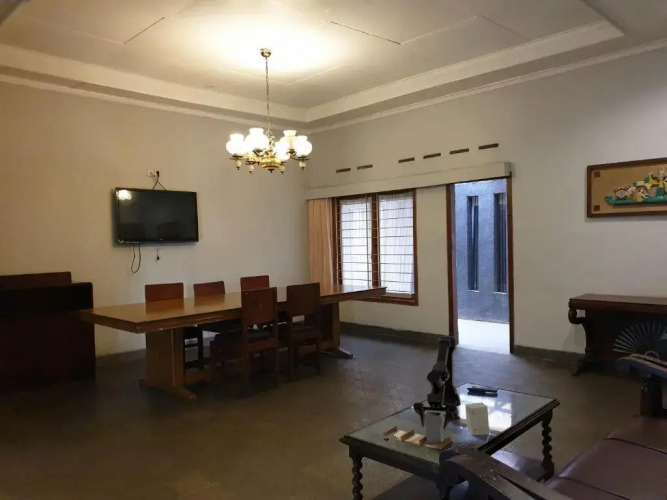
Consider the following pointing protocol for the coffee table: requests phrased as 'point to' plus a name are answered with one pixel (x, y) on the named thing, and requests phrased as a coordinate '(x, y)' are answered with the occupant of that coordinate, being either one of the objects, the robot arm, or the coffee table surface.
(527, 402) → the coffee table surface
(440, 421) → the block
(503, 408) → the coffee table surface
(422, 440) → the slot rack
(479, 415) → the small box
